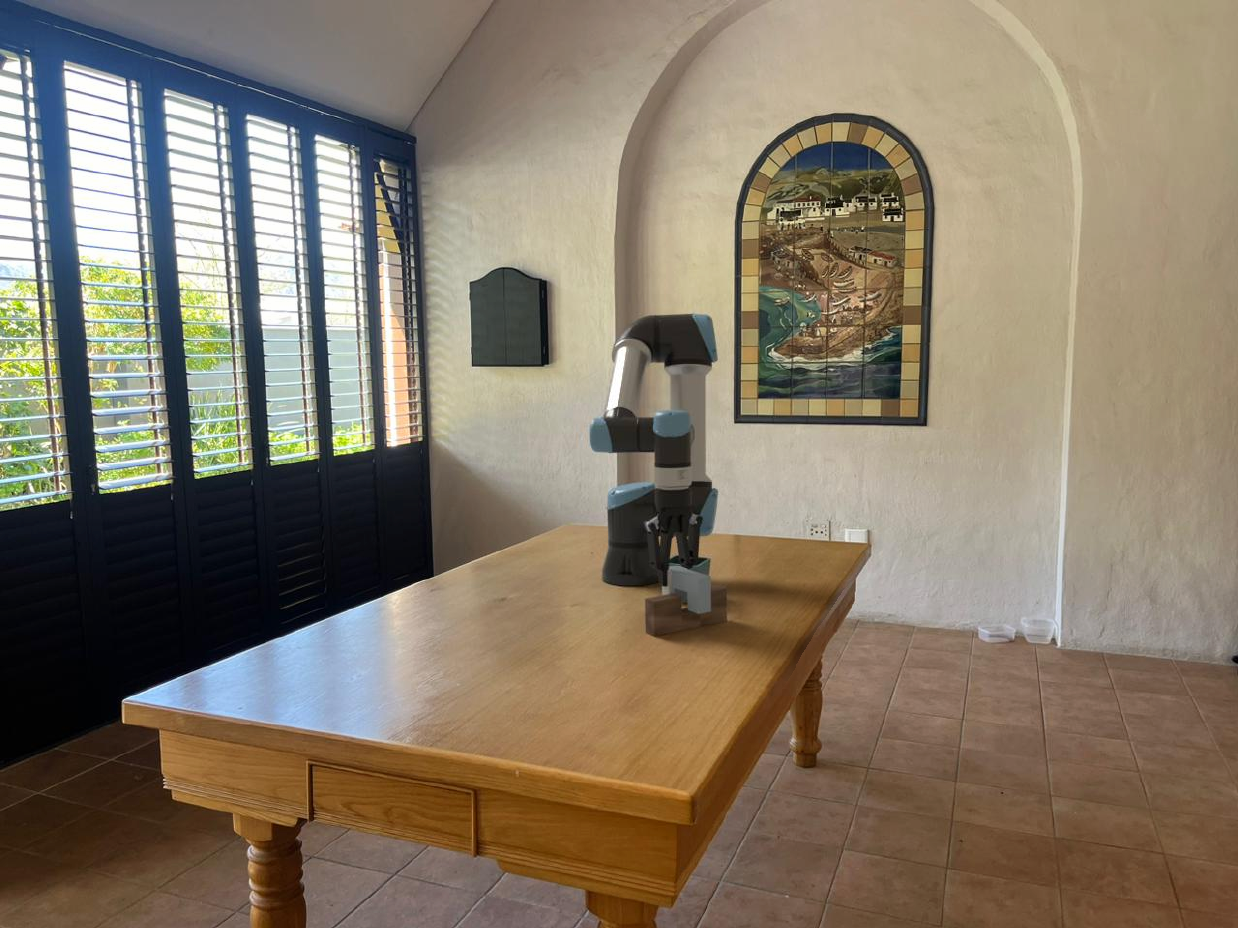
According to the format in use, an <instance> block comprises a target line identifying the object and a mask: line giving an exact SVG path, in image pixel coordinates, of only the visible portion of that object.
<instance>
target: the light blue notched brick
mask: <svg viewBox="0 0 1238 928" xmlns="http://www.w3.org/2000/svg"><path fill="white" fill-rule="evenodd" d="M669 570H670V571H672V593H674V594H676V595H679V596H681V600H682V604H684V603H687V607H688V610H690V611H693V612H695V613H698V614H700V613H705V612H710V611H711V586H712V584H711V582H712V581H711V576H710V575H709V576H707V575H704V574H701V573H698V572H694V571H691V570H688V569H685V568H682V567H679V566H670V567H669ZM687 600H688V602H687Z"/></svg>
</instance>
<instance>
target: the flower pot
mask: <svg viewBox="0 0 1238 928" xmlns="http://www.w3.org/2000/svg"><path fill="white" fill-rule="evenodd" d="M711 560H712V558H711V557H704V556H698V562H697V563H694V564H693V567H692V568H690V570H691V571H694V572H698V573H701V574H704V575H707V576H710V567H711ZM670 566H681V565H680V562H679V555H678V554H675V555H673V556H670V562H669V567H670ZM686 603H688V600H687V602H686Z"/></svg>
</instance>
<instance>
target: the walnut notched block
mask: <svg viewBox="0 0 1238 928" xmlns="http://www.w3.org/2000/svg"><path fill="white" fill-rule="evenodd" d="M727 591H728V589H727V587H726V586H723V585H720V584H715V585H711V611H710V612H705V613H700V614H698V613H695V612H693V611H690V610H688V606H687V607H686V606H685V607H683V608H682V606H683V605H682V604H683V603H682V600H681V596H679V595H676V594H674V593H672V594H666V595H662V594H661V595H656V596H651V597H645V598H644V611H645V612H644V616H645V619H644V620H645V634H647V635H650V636H652V637H657V636H663V635H669V634H672V633H677V632H681V631H687V630H691V629H696V628H700V627H704V626H705V627H706V626H709V625H714V624H719V623H724V622H727V621H728V595H727V594H728V592H727Z"/></svg>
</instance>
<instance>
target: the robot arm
mask: <svg viewBox="0 0 1238 928" xmlns="http://www.w3.org/2000/svg"><path fill="white" fill-rule="evenodd" d="M716 342H717V341H716V335H715V328H714V322H713V318H712V317H711V316H710V315H708V314H705V313H704V314H702V313H683V314H658V315H657V314H652V315H651V314H649V315H646V316H643V317H639V318H637V319H635V320H634V321H633V322H632V323H630V324H628V325H627V327H625V328H624V329H623V330H622V331H621V332H620V334H619V335H618V336H617V338H616V339H615V342H614V344H613V348H612V351H611V360H612V362H613V367H612V372H611V378H610V382H609V387H608V390H607V391H608V392H607V397H606V400H605V401H606V402H605V405H604V411H603V414H602V415H603V416H601V417H595V418H593V419H592V420H591V421H590V422H589V431H588V433H589V445H590V449H591V450H592V451H593V452H595V453H606V454H623V453H624V454H625V453H626V454H627V453H628V454H630V453H654V465H653V467H654V469H653V472H654V477H653V478H654V482H653V481H642V482H632V483H627V484H623V485H622V484H621V485H619V486H616V487H613V488H611V489H610V490H609V492H608V493H607V506H606V510H607V541H608V542H607V543H608V546H607V552H606V555H605V557H604V558H605V559H604V561H603V565H602V569H601V579H602V581H603V582H605V583H608V584H611V585H617V586H643V585H644V586H645V585H651V584H655V583H658V584H659V586H661V595H666V594H672V571H670V570H669V562H670V558H671V552H672V551H671V550H672V542H673V539H674V537H675V540H676V545H677V546H676V548H677V553H678V554H677V555H679V562H680V565H681V566H679V567H682V568H685V569H688V570H690V568H692V567H693V564H694V563H697V562H698V557H700V556H699V553H700V552H699V551H700V539H701V538H702V537H708V536H711V534H713V530H714V528H715V527H714V526H715V523H716V522H715V521H716V516H717V515H716V514H717V508H718V507H717V506H718V497H719V490H718V489H717V488H715V487H713V480H711V478H710V477H709V476H708V475H707V473H706V472H707V466H706V464H707V458H706V457H707V454H706V453H707V449H706V447H707V443H706V440H707V439H706V437H707V434H706V433H707V432H706V431H707V429H706V428H707V426H706V423H707V421H706V420H707V418H706V416H707V415H706V413H707V411H706V409H707V407H706V406H707V405H706V404H707V403H706V402H707V400H706V399H707V398H706V396H707V395H706V394H707V393H706V392H707V390H706V387H707V386H706V385H707V384H706V381H707V379H706V377H707V375H708V374H709V373H710V372H711V371H712V369H713V363H716V362H718V360H719V359H718V350H717V343H716ZM652 363H653V364H654V363H655V364H657V363H658V364H662V363H663V364H664V365H663V369H664V371H665V373H667V375H668V376H669V377H670V381H669V383H670V385H669V386H670V389H669V390H670V394H669V395H670V396H669V398H670V401H669V403H670V404H669V405H670V408H669V410H668V409H667V410H665V409H664V410H659V411H656V412H655V413H654V415H653V417H650V416H648V417H646V416H645V417H641V416H640V417H639V413H640V407H641V406H640V405H641V399H642V393H643V387H644V381H645V375H646V369H648V367H649V366H650V365H651V364H652ZM700 537H701V538H700Z"/></svg>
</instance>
